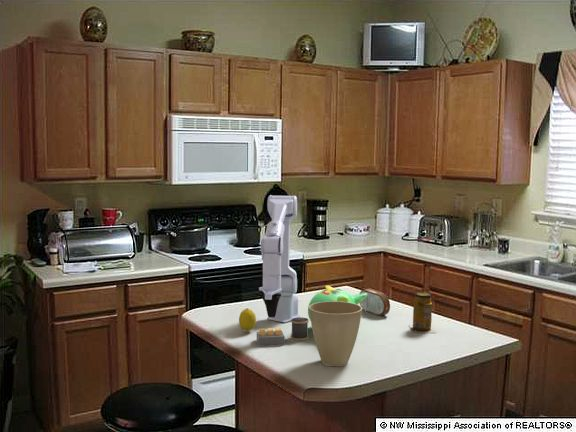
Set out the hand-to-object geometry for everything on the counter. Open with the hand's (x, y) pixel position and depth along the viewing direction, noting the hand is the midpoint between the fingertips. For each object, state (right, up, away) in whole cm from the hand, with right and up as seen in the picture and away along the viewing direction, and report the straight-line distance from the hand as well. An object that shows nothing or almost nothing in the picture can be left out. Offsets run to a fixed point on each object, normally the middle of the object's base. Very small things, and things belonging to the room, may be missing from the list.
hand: (271, 316), depth 193 cm
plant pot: (+18, -10, -19) cm, 28 cm away
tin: (+37, -4, +34) cm, 50 cm away
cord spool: (+9, -7, +3) cm, 12 cm away
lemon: (-8, -7, +9) cm, 14 cm away
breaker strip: (0, -8, -2) cm, 8 cm away
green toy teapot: (+21, -7, +11) cm, 24 cm away
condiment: (+50, -7, +14) cm, 52 cm away
